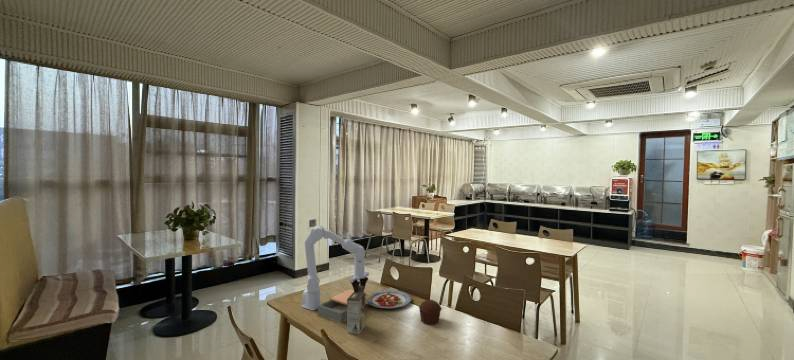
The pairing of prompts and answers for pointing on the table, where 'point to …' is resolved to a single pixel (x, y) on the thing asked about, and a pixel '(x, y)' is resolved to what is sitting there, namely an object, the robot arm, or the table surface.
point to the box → (333, 311)
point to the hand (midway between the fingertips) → (359, 291)
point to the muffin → (430, 312)
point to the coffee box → (356, 312)
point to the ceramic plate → (389, 299)
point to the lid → (348, 295)
